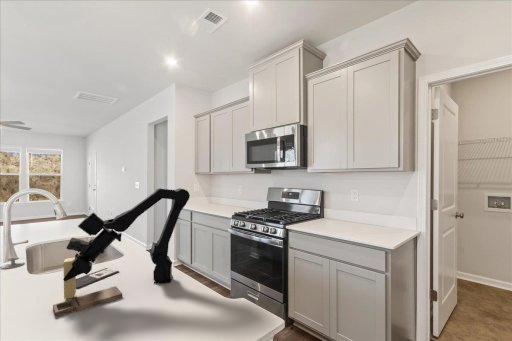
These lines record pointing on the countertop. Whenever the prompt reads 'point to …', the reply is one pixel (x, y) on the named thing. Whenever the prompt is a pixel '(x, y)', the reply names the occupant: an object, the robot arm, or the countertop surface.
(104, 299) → the brown buckle strap
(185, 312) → the countertop surface
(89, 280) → the chocolate bar
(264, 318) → the countertop surface
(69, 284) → the stub
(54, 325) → the countertop surface
